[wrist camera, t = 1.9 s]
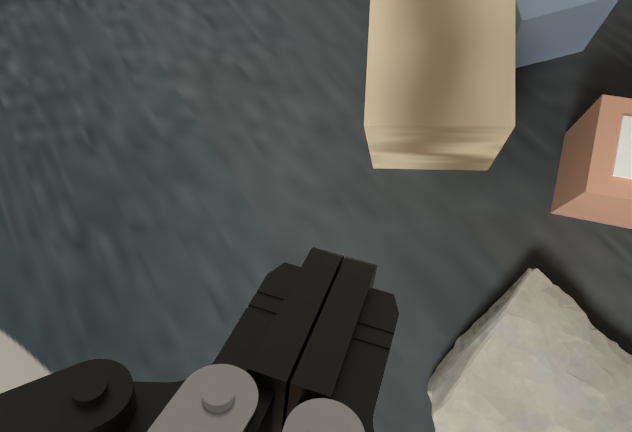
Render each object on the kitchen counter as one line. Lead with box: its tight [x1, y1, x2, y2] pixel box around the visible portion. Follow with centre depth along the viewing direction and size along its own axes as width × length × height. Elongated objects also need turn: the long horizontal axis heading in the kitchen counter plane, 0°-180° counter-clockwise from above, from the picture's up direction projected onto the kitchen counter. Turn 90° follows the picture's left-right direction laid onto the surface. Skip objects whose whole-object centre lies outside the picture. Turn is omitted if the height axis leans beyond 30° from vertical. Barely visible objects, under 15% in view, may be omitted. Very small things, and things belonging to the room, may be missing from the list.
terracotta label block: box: [551, 94, 632, 229], centre depth 27 cm, size 5×5×6 cm
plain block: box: [364, 0, 515, 171], centre depth 28 cm, size 7×7×8 cm
